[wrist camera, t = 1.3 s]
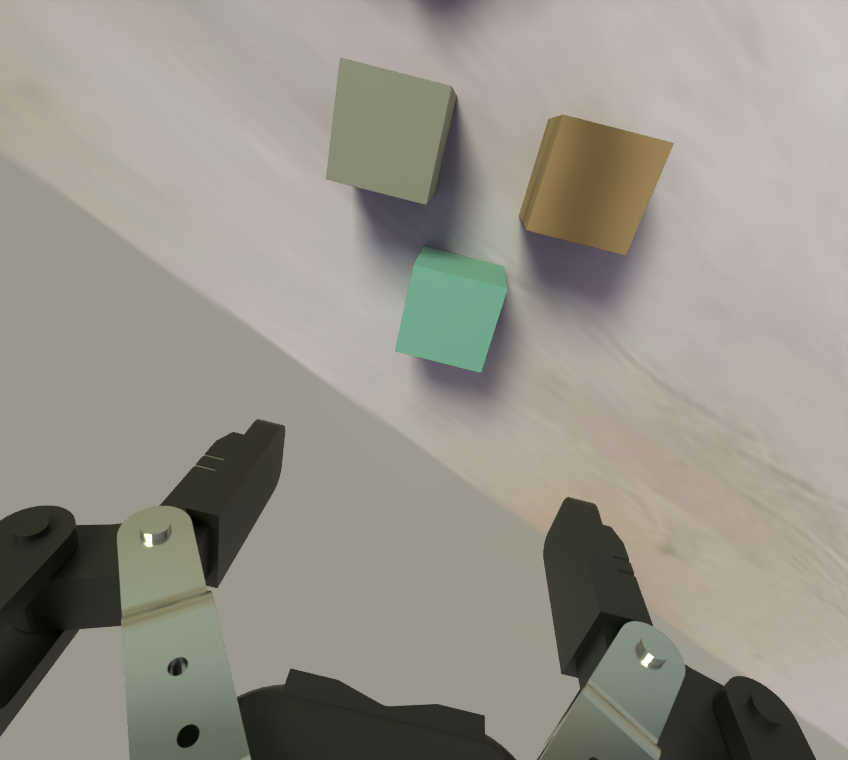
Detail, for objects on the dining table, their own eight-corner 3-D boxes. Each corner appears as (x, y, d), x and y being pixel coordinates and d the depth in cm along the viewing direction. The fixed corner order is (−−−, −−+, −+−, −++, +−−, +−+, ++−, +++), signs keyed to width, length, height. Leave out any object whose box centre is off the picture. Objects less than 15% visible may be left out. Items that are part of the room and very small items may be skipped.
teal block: (503, 265, 29) (507, 288, 24) (480, 339, 31) (481, 372, 26) (424, 245, 29) (413, 265, 24) (407, 321, 31) (395, 351, 26)
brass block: (639, 142, 25) (673, 143, 20) (602, 236, 27) (625, 255, 23) (548, 119, 25) (563, 114, 20) (518, 215, 27) (526, 230, 23)
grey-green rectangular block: (457, 96, 25) (451, 86, 20) (435, 194, 27) (426, 204, 23) (365, 72, 25) (340, 57, 20) (351, 172, 27) (326, 179, 23)
